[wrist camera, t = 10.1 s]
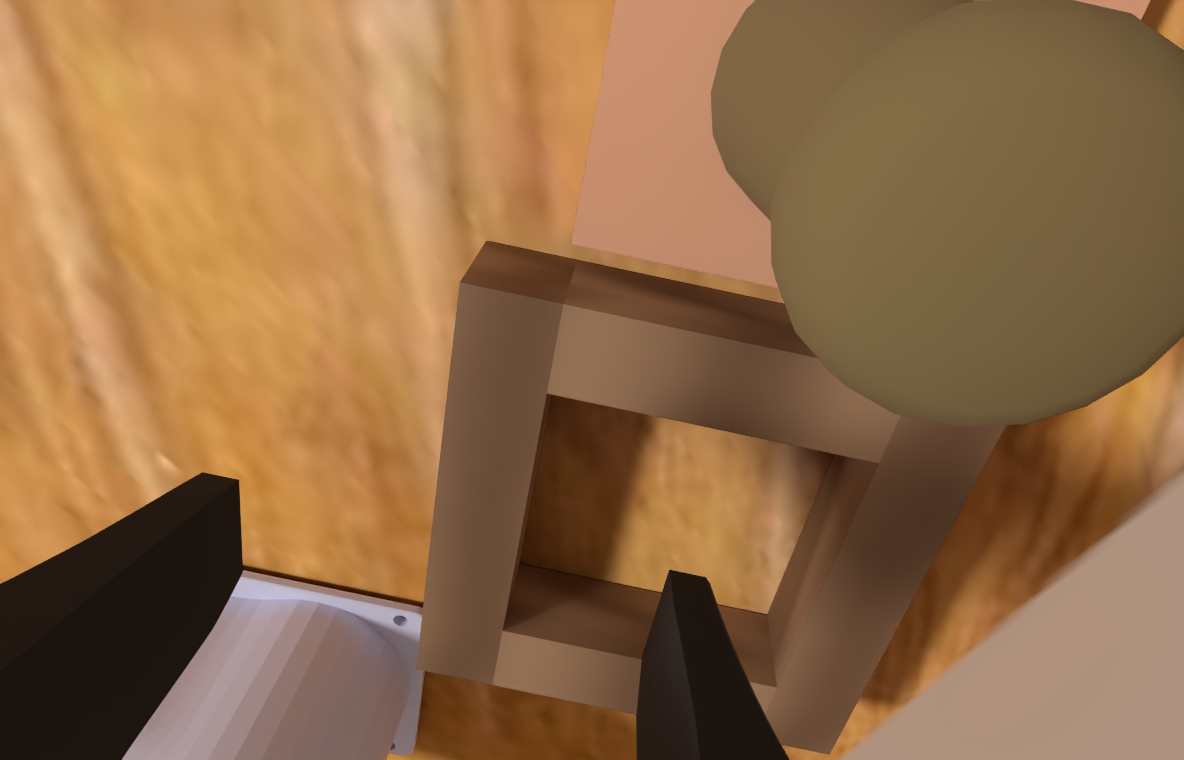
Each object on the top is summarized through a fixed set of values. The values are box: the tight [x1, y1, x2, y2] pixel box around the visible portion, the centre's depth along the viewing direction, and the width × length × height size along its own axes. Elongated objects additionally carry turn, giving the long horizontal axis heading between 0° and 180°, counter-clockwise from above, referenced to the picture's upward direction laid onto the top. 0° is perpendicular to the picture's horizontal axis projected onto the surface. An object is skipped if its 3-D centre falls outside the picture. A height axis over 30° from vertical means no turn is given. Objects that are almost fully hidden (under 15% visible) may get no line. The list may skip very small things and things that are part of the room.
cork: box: [711, 0, 1184, 427], centre depth 13 cm, size 6×6×11 cm
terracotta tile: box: [571, 0, 1150, 288], centre depth 18 cm, size 11×11×1 cm
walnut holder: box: [416, 241, 1006, 754], centre depth 23 cm, size 14×14×3 cm
